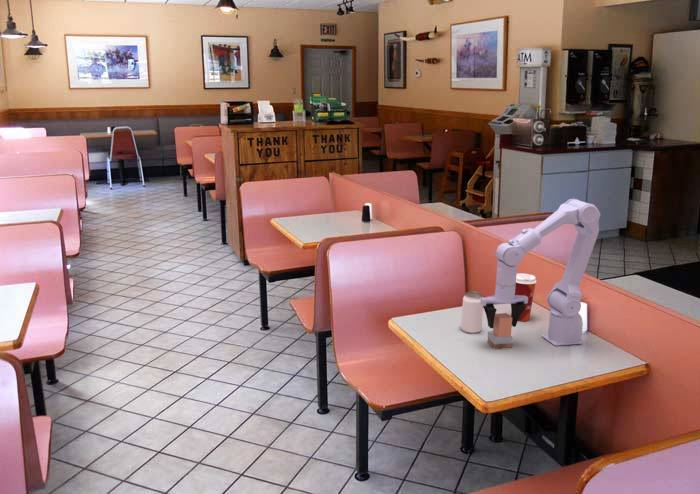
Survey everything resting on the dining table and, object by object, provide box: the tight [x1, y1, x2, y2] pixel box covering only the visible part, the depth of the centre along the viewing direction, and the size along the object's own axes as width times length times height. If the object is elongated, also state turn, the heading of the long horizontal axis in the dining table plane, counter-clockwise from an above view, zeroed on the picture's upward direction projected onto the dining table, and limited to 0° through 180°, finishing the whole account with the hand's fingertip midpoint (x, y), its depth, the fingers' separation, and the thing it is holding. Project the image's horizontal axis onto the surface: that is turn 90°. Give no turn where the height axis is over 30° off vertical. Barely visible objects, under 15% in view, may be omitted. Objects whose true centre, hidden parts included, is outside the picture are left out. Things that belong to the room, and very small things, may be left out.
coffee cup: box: [515, 272, 538, 323], centre depth 214 cm, size 8×8×15 cm
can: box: [460, 291, 484, 334], centre depth 203 cm, size 6×6×12 cm
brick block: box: [492, 312, 513, 337], centre depth 192 cm, size 4×4×6 cm
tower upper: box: [487, 330, 513, 344], centre depth 193 cm, size 6×6×2 cm
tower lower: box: [487, 337, 514, 350], centre depth 193 cm, size 6×6×2 cm
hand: (501, 326), depth 192 cm, fingers open, 7 cm apart
